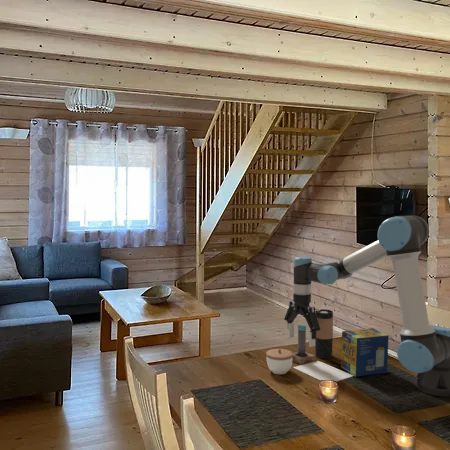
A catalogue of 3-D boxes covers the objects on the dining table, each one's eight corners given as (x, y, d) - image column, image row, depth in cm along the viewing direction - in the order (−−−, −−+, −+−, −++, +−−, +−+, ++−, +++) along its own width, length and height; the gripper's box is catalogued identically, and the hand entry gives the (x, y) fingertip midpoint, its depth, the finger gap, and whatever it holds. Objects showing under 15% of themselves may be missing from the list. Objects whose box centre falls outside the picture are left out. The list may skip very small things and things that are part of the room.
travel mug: (332, 359, 212) (333, 313, 211) (314, 358, 214) (315, 313, 212) (332, 353, 220) (333, 309, 218) (315, 352, 221) (315, 308, 220)
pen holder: (314, 361, 210) (315, 355, 210) (300, 364, 205) (300, 359, 205) (302, 355, 216) (302, 350, 216) (288, 359, 212) (288, 353, 212)
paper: (353, 376, 193) (353, 375, 193) (327, 384, 185) (327, 383, 185) (318, 361, 209) (318, 360, 209) (293, 367, 202) (293, 367, 202)
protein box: (340, 367, 201) (341, 330, 200) (371, 364, 206) (373, 327, 205) (355, 377, 191) (356, 338, 190) (388, 372, 196) (389, 334, 195)
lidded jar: (262, 374, 195) (262, 351, 194) (270, 365, 205) (270, 343, 204) (289, 378, 191) (289, 354, 190) (295, 368, 201) (295, 346, 200)
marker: (307, 360, 210) (307, 326, 209) (301, 362, 209) (301, 327, 208) (302, 358, 213) (302, 324, 212) (296, 359, 211) (296, 325, 210)
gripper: (329, 297, 200) (328, 348, 202) (290, 286, 221) (289, 332, 223) (315, 299, 196) (314, 351, 198) (276, 288, 217) (276, 335, 219)
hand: (301, 341), depth 211 cm, fingers open, 13 cm apart
